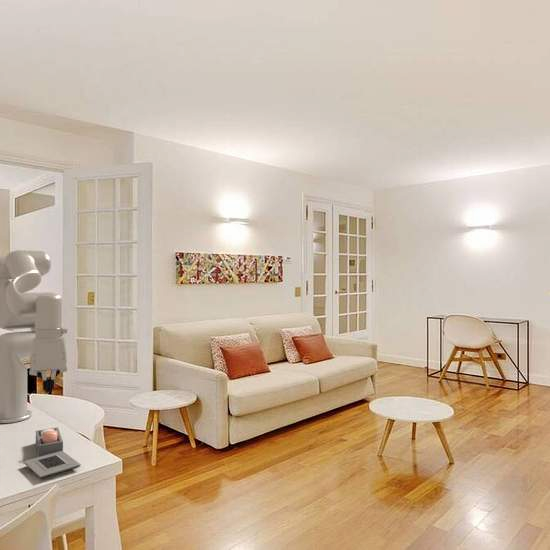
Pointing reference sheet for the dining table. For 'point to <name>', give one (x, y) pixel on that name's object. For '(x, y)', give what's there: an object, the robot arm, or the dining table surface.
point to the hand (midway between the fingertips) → (48, 391)
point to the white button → (45, 431)
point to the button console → (48, 444)
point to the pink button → (50, 436)
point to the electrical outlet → (52, 464)
